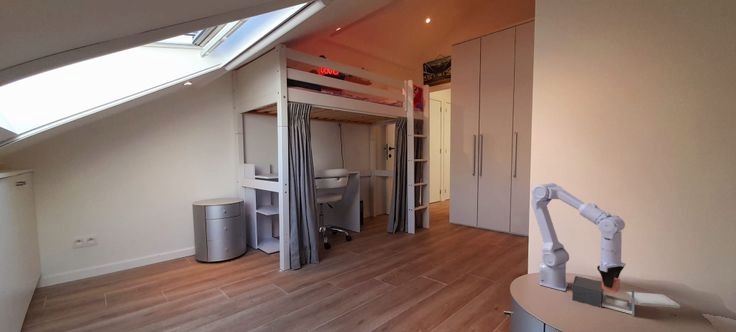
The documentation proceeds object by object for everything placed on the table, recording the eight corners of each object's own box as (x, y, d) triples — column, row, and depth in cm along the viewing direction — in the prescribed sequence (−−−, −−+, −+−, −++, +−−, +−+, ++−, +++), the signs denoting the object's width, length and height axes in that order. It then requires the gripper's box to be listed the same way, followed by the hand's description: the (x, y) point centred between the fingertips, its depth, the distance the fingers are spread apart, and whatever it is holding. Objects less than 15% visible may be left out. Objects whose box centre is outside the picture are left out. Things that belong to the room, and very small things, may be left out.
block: (615, 292, 101) (615, 282, 101) (601, 288, 105) (601, 278, 105) (619, 289, 104) (619, 278, 103) (605, 285, 107) (606, 275, 107)
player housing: (572, 299, 110) (572, 284, 110) (575, 290, 117) (575, 275, 117) (601, 307, 104) (601, 291, 104) (602, 297, 111) (602, 282, 111)
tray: (601, 307, 104) (602, 291, 104) (603, 296, 111) (603, 282, 111) (634, 316, 98) (634, 299, 98) (633, 304, 105) (633, 288, 105)
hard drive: (639, 302, 105) (680, 305, 102) (625, 291, 113) (662, 293, 110) (639, 306, 106) (680, 309, 103) (625, 295, 113) (662, 297, 111)
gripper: (617, 257, 96) (617, 295, 97) (631, 247, 104) (631, 283, 105) (592, 251, 102) (592, 287, 103) (607, 242, 110) (607, 276, 111)
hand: (610, 285), depth 104 cm, fingers closed on block, 4 cm apart
